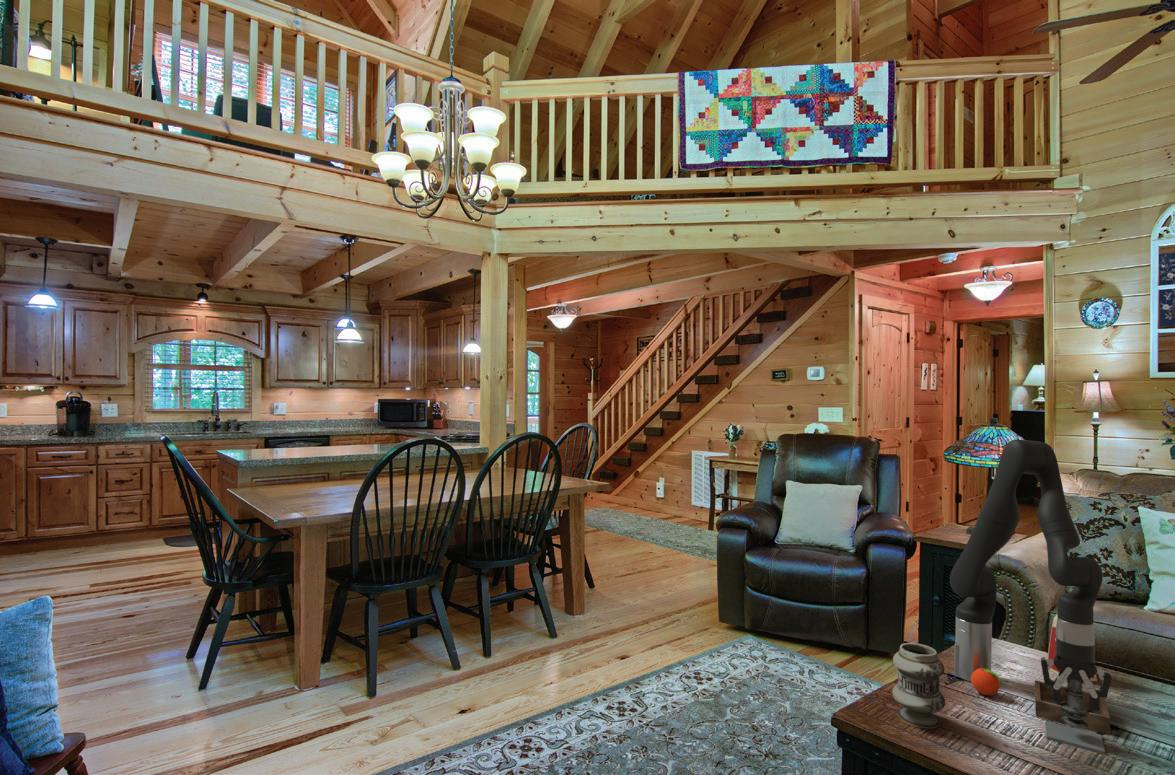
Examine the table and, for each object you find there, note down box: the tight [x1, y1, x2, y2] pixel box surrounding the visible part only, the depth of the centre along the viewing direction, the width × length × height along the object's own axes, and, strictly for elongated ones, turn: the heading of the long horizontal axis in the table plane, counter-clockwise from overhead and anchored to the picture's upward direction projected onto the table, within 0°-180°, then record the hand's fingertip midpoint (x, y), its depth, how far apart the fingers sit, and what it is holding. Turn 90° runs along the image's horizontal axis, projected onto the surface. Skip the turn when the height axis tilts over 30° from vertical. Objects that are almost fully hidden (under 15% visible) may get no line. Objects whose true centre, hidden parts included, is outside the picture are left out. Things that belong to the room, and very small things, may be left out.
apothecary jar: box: [892, 642, 946, 729], centre depth 162 cm, size 12×12×18 cm
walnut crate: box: [1034, 680, 1111, 735], centre depth 166 cm, size 15×15×4 cm
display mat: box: [1045, 720, 1106, 755], centre depth 154 cm, size 11×9×1 cm
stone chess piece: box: [1060, 679, 1090, 729], centre depth 154 cm, size 6×6×12 cm
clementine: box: [971, 668, 1003, 696], centre depth 176 cm, size 8×7×7 cm
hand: (1074, 707), depth 154 cm, fingers closed on stone chess piece, 6 cm apart
